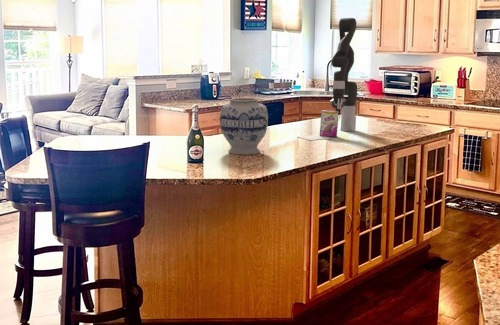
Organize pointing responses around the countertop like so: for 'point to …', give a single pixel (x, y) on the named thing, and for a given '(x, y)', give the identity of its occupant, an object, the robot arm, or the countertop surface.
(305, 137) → the white mat
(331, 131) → the candy bar box
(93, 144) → the countertop surface
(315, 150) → the countertop surface
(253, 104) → the apothecary jar
